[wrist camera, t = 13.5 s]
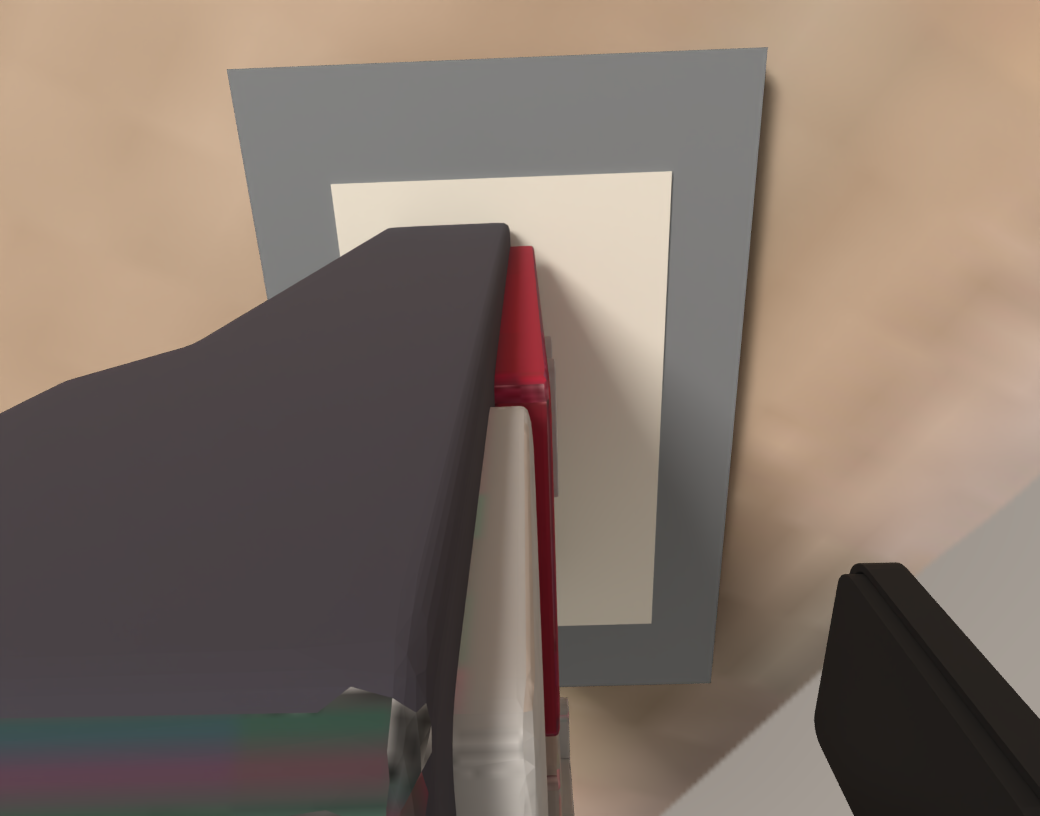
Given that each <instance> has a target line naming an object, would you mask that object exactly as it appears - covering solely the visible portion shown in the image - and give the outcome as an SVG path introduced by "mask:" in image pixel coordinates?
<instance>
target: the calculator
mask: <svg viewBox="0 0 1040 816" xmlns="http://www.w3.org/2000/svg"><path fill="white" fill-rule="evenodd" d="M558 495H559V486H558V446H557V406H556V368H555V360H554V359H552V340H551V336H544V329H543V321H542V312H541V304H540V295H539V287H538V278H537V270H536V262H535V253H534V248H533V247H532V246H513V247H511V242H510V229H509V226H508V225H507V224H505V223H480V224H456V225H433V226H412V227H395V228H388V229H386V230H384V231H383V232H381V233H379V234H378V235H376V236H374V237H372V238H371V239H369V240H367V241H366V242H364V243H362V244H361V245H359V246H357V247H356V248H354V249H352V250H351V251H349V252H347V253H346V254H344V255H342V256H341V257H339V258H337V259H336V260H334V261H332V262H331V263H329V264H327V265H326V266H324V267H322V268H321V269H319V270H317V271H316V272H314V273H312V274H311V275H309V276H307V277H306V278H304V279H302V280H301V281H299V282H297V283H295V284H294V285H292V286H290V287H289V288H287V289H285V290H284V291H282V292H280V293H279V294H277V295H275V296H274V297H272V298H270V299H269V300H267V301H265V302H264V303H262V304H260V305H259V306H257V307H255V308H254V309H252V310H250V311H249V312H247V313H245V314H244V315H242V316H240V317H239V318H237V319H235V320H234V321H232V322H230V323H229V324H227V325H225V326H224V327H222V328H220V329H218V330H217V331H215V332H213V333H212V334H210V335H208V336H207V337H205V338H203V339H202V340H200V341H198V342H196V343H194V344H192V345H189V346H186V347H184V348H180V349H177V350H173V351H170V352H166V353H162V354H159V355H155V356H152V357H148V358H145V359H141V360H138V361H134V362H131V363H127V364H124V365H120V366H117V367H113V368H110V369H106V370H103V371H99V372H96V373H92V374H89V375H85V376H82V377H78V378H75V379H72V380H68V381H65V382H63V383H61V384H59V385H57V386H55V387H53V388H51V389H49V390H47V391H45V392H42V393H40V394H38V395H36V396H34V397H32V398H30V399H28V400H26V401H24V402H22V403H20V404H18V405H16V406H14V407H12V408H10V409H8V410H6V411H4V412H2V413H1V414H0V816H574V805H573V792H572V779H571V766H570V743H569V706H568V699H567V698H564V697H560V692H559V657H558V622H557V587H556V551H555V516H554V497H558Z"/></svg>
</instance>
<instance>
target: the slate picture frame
mask: <svg viewBox="0 0 1040 816" xmlns="http://www.w3.org/2000/svg"><path fill="white" fill-rule="evenodd" d="M767 49H768V47H763V48H738V49H714V50H689V51H665V52H640V53H616V54H591V55H567V56H543V57H518V58H494V59H469V60H445V61H420V62H396V63H371V64H347V65H322V66H298V67H273V68H249V69H227V73H228V79H229V85H230V90H231V96H232V102H233V107H234V113H235V118H236V124H237V130H238V135H239V141H240V147H241V152H242V158H243V164H244V169H245V175H246V180H247V186H248V192H249V197H250V203H251V209H252V214H253V220H254V225H255V231H256V237H257V242H258V248H259V254H260V259H261V265H262V271H263V276H264V282H265V287H266V293H267V299H268V300H269V299H270V298H272V297H274V296H275V295H277V294H279V293H280V292H282V291H284V290H285V289H287V288H289V287H290V286H292V285H294V284H295V283H297V282H299V281H301V280H302V279H304V278H306V277H307V276H309V275H311V274H312V273H314V272H316V271H317V270H319V269H321V268H322V267H324V266H326V265H327V264H329V263H331V262H332V261H334V260H336V259H337V258H339V257H341V256H342V255H344V254H346V253H347V252H349V251H351V250H352V249H354V248H356V247H357V246H359V245H361V244H362V243H364V242H366V241H367V240H369V239H371V238H372V237H374V236H376V235H378V234H379V233H381V232H383V231H384V230H386V229H388V228H395V227H412V226H433V225H456V224H480V223H505V224H507V225H508V226H509V229H510V242H511V247H513V246H532V247H533V248H534V253H535V262H536V270H537V278H538V287H539V295H540V304H541V312H542V321H543V329H544V336H551V340H552V359H554V360H555V368H556V406H557V446H558V486H559V495H558V497H554V516H555V551H556V587H557V622H558V657H559V687H577V686H616V685H655V684H694V683H711V674H712V663H713V651H714V640H715V629H716V618H717V607H718V596H719V585H720V573H721V562H722V551H723V540H724V529H725V518H726V506H727V495H728V484H729V473H730V462H731V451H732V439H733V428H734V417H735V406H736V395H737V384H738V373H739V361H740V350H741V339H742V328H743V317H744V306H745V294H746V283H747V272H748V261H749V250H750V239H751V227H752V216H753V205H754V194H755V183H756V172H757V161H758V149H759V138H760V127H761V116H762V105H763V94H764V82H765V71H766V60H767Z"/></svg>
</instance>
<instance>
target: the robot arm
mask: <svg viewBox="0 0 1040 816" xmlns="http://www.w3.org/2000/svg"><path fill="white" fill-rule="evenodd" d="M814 722H815V730H816V735H817V738H818V741H819V744H820V746H821V748H822V750H823V752H824V754H825V756H826V758H827V761H828V763H829V765H830V767H831V769H832V771H833V773H834V775H835V777H836V779H837V781H838V783H839V786H840V788H841V790H842V791H843V794H844V796H845V798H846V800H847V802H848V804H849V806H850V808H851V810H852V812H853V814H854V816H1040V719H1039V718H1038V717H1037V715H1036V714H1035V713H1034V712H1033V711H1032V710H1031V709H1030V708H1029V706H1028V705H1027V704H1026V703H1025V702H1024V701H1023V700H1022V699H1021V697H1020V696H1019V695H1018V694H1017V693H1016V692H1015V691H1014V689H1013V688H1012V687H1011V686H1010V685H1009V684H1008V683H1007V681H1006V680H1005V679H1004V678H1003V677H1002V676H1001V675H1000V674H999V672H998V671H997V670H996V669H995V668H994V667H993V666H992V665H991V663H990V662H989V661H988V660H987V659H986V658H985V656H984V655H983V654H982V653H981V652H980V651H979V650H978V649H977V648H976V646H975V645H974V644H973V643H972V642H971V641H970V639H969V638H968V637H967V636H966V635H965V634H964V633H963V632H962V630H961V629H960V628H959V627H958V626H957V625H956V624H955V622H954V621H953V620H952V619H951V618H950V617H949V616H948V615H947V614H946V612H945V611H944V610H943V609H942V608H941V607H940V605H939V604H938V603H936V601H935V600H934V599H933V598H932V597H931V595H930V594H929V593H928V592H927V591H926V590H925V588H924V587H923V586H922V585H921V584H920V583H919V582H918V581H917V579H916V578H915V577H914V576H913V575H912V574H911V573H910V571H909V570H908V569H907V568H906V567H905V566H903V565H902V564H900V563H858V564H855V565H854V566H853V567H852V569H851V571H850V574H844V575H842V576H841V577H840V578H839V581H838V585H837V591H836V597H835V602H834V608H833V614H832V619H831V625H830V631H829V636H828V642H827V647H826V653H825V659H824V664H823V670H822V676H821V681H820V687H819V693H818V698H817V704H816V710H815V717H814Z"/></svg>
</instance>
